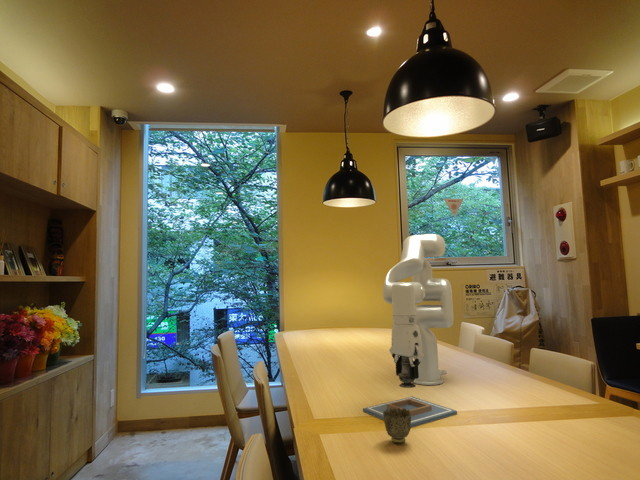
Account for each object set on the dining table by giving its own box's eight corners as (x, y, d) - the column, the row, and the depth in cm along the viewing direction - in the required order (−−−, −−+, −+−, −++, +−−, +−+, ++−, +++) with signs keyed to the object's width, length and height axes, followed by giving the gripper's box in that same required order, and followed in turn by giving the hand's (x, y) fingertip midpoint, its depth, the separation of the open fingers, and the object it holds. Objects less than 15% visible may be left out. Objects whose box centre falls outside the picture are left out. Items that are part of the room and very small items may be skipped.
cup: (381, 438, 112) (380, 408, 113) (407, 436, 113) (406, 406, 114) (388, 449, 105) (386, 417, 106) (416, 447, 106) (414, 415, 106)
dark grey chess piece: (417, 388, 130) (415, 349, 131) (398, 387, 131) (396, 349, 132) (416, 383, 135) (414, 346, 136) (398, 383, 136) (396, 346, 138)
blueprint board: (412, 399, 147) (411, 392, 147) (457, 414, 130) (456, 405, 130) (363, 411, 135) (362, 403, 135) (405, 429, 118) (404, 420, 118)
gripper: (432, 321, 130) (435, 380, 128) (395, 318, 144) (398, 370, 143) (414, 323, 126) (417, 384, 124) (378, 319, 140) (381, 373, 139)
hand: (407, 376), depth 133 cm, fingers closed on dark grey chess piece, 5 cm apart
